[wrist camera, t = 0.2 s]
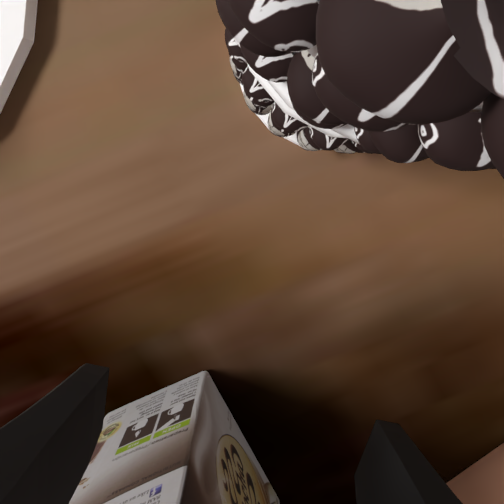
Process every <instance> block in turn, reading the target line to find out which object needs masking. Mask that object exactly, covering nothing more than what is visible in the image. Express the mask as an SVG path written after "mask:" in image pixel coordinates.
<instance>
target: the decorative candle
mask: <svg viewBox="0 0 504 504" xmlns="http://www.w3.org/2000/svg"><path fill="white" fill-rule="evenodd" d="M216 5H217V9H218V13H219V15H220V17H221V19H222V22H223V24H224V25H225V27H226V30H225V41H226V45H227V48H228V51H229V55H230V64H231V67H232V70H233V73H234V76H235V78H236V79H237V81H238V82H239V83H240V86H241V89H242V92H243V95H244V98H245V102H246V104H247V106H248V107H249V108H250V110H251V111H253V112H254V113H255V114H256V115H257V116H258V117H259V118H260V120H261V121H262V122H263V123H264V124H265V126H266V127H267V128H268V129H269V130H270V131H271V133H273V134H274V135H276V136H279V137H283V138H285V139H287V140H289V141H291V142H293V143H295V144H297V145H298V146H300V147H302V148H303V149H304V150H310V151H317V150H335V151H336V152H339V153H349V154H352V153H355V152H358V153H364V152H366V153H371V154H373V153H377V154H383V155H384V156H385V157H386V158H387V159H389V160H391V161H394V162H397V163H410V162H416V161H421V160H424V159H427V158H430V159H431V160H433V161H434V162H435V163H436V164H439V165H442V166H444V167H447V168H450V169H455V170H460V171H477V170H484V169H497V170H498V172H499V173H500V174H501V176H502V177H503V178H504V0H216Z"/></svg>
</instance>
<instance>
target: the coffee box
mask: <svg viewBox="0 0 504 504" xmlns="http://www.w3.org/2000/svg"><path fill="white" fill-rule="evenodd" d="M69 504H280V502H279V499H278V497H277V495H276V493H275V491H274V489H273V488H272V486H271V484H270V482H269V480H268V479H267V477H266V475H265V473H264V471H263V470H262V468H261V466H260V464H259V462H258V461H257V459H256V457H255V455H254V454H253V452H252V450H251V448H250V446H249V445H248V443H247V441H246V439H245V437H244V436H243V434H242V432H241V430H240V429H239V427H238V425H237V423H236V421H235V420H234V418H233V416H232V414H231V412H230V411H229V409H228V407H227V405H226V403H225V402H224V400H223V398H222V396H221V395H220V393H219V391H218V389H217V387H216V386H215V384H214V382H213V380H212V378H211V376H210V375H209V373H208V372H207V371H202V372H200V373H198V374H195V375H193V376H191V377H188V378H186V379H184V380H182V381H179V382H177V383H175V384H173V385H170V386H168V387H165V388H163V389H161V390H159V391H157V392H154V393H152V394H150V395H148V396H145V397H143V398H141V399H138V400H136V401H134V402H132V403H129V404H127V405H125V406H123V407H120V408H118V409H116V410H114V411H112V412H110V413H108V414H107V415H106V416H105V418H104V420H103V429H102V431H101V434H100V436H99V439H98V442H97V444H96V447H95V450H94V452H93V455H92V457H91V460H90V462H89V465H88V467H87V469H86V471H85V473H84V475H83V477H82V479H81V481H80V483H79V485H78V487H77V488H76V490H75V492H74V494H73V496H72V498H71V500H70V502H69Z"/></svg>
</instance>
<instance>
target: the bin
mask: <svg viewBox="0 0 504 504" xmlns="http://www.w3.org/2000/svg"><path fill="white" fill-rule="evenodd" d="M446 484H447V485H448V487H449V488H450V489H451V490H452V492H453V493H454V494H455V495H456V496H457V498H458V499H459V500H460V501H461V502H462V503H463V504H504V443H503V444H501V445H500V446H498V447H497V448H496V449H494V450H493V451H491V452H490V453H488V454H487V455H486V456H484V457H483V458H481V459H480V460H478V461H477V462H476V463H474V464H473V465H471V466H470V467H469V468H467V469H466V470H464V471H463V472H461V473H460V474H459V475H457V476H456V477H454V478H453V479H452V480H450V481H449V482H447V483H446Z"/></svg>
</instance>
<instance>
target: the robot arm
mask: <svg viewBox="0 0 504 504" xmlns="http://www.w3.org/2000/svg"><path fill="white" fill-rule="evenodd" d="M108 375H109V368H108V367H102V366H97V365H92V364H87V363H86V364H84V365H83V366H81V367H80V368H79V369H77V370H76V371H75V372H74V373H73V374H71V375H70V376H69V377H68V378H67V379H65V380H64V381H63V382H62V383H61V384H59V385H58V386H57V387H56V388H54V389H53V390H52V391H51V392H49V393H48V394H47V395H46V396H44V397H43V398H42V399H40V400H39V401H38V402H36V403H35V404H34V405H32V406H31V407H30V408H28V409H27V410H26V411H24V412H23V413H22V414H20V415H19V416H17V417H16V418H15V419H13V420H12V421H10V422H9V423H7V424H6V425H4V426H3V427H1V428H0V504H69V502H70V500H71V498H72V496H73V494H74V492H75V490H76V488H77V487H78V485H79V483H80V481H81V479H82V477H83V475H84V473H85V471H86V469H87V467H88V465H89V462H90V460H91V457H92V455H93V452H94V450H95V447H96V444H97V442H98V439H99V436H100V434H101V431H102V429H103V420H104V411H105V402H106V393H107V384H108ZM354 479H355V491H356V502H357V504H463V503H462V502H461V501H460V500H459V499H458V498H457V496H456V495H455V494H454V493H453V492H452V490H451V489H450V488H449V487H448V485H447V484H446V483H445V482H444V481H443V479H442V478H441V477H440V476H439V474H438V473H437V472H436V471H435V469H434V468H433V467H432V465H431V464H430V463H429V462H428V460H427V459H426V458H425V457H424V455H423V454H422V453H421V451H420V450H419V449H418V448H417V446H416V445H415V444H414V442H413V441H412V440H411V439H410V437H409V436H408V435H407V434H406V432H405V431H404V430H403V429H402V427H401V426H400V425H399V424H397V423H392V422H387V421H381V420H376V422H375V424H374V427H373V429H372V432H371V434H370V437H369V439H368V442H367V444H366V447H365V450H364V452H363V455H362V457H361V460H360V462H359V465H358V467H357V470H356V472H355V475H354Z"/></svg>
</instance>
